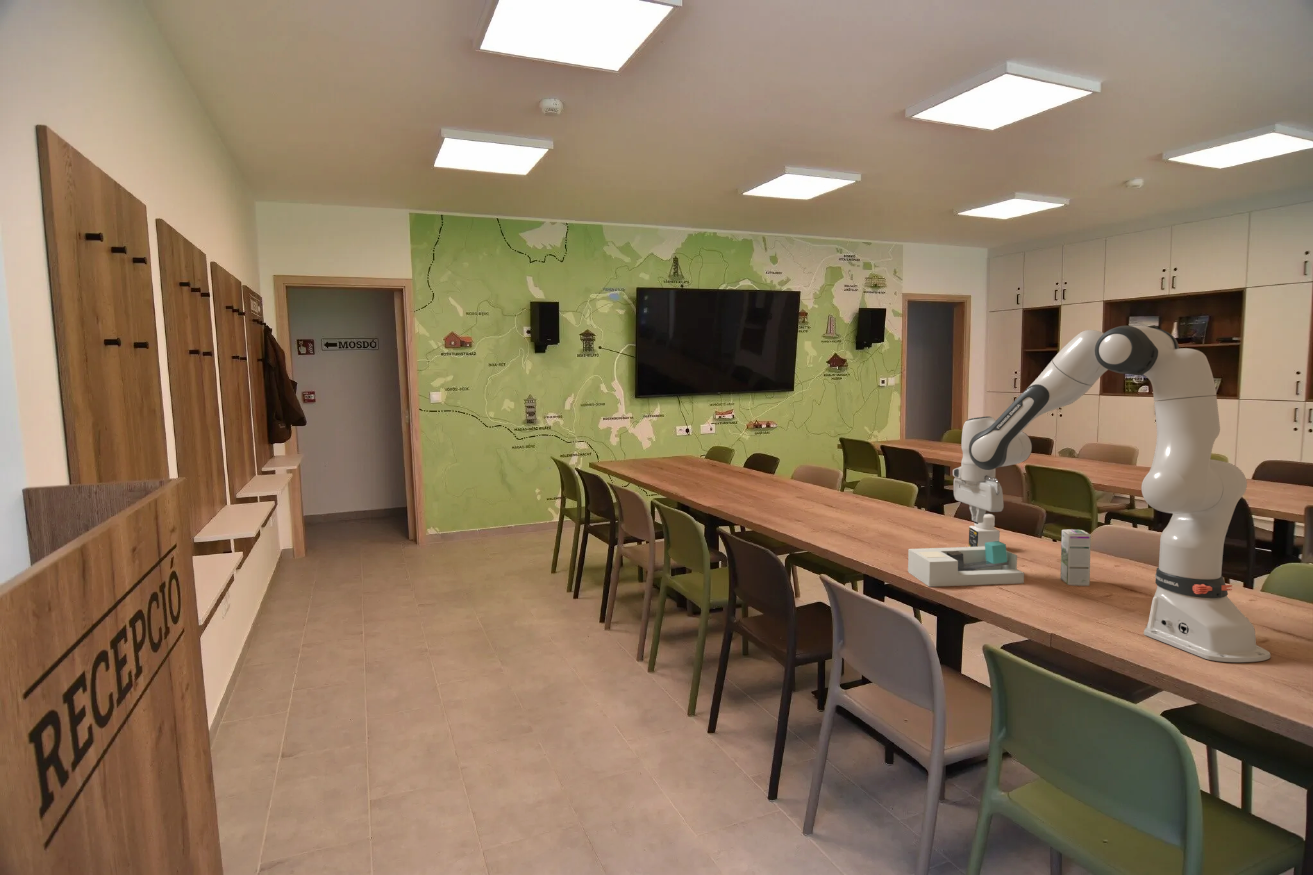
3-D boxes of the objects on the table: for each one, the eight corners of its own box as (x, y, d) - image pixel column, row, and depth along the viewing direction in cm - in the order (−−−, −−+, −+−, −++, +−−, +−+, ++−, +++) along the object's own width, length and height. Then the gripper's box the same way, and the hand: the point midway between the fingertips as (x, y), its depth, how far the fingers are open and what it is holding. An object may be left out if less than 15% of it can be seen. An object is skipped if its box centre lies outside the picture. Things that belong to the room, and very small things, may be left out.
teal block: (1007, 562, 198) (1005, 544, 198) (993, 563, 198) (992, 546, 197) (999, 558, 202) (998, 540, 201) (985, 560, 202) (984, 542, 201)
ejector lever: (1009, 564, 199) (1007, 547, 198) (953, 572, 198) (952, 555, 197) (1002, 561, 202) (1001, 544, 201) (948, 569, 201) (946, 552, 200)
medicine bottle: (968, 546, 234) (969, 511, 232) (989, 546, 233) (990, 511, 232) (977, 552, 226) (978, 515, 225) (999, 551, 226) (1000, 515, 225)
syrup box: (1090, 586, 190) (1092, 534, 189) (1066, 585, 191) (1068, 533, 190) (1082, 579, 196) (1084, 529, 194) (1059, 579, 197) (1061, 528, 195)
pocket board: (1023, 583, 194) (1024, 558, 193) (929, 586, 192) (929, 561, 191) (996, 568, 208) (997, 545, 207) (908, 572, 206) (908, 548, 205)
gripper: (1010, 478, 187) (1009, 529, 188) (970, 468, 207) (969, 514, 208) (987, 479, 186) (987, 530, 187) (949, 469, 206) (949, 515, 208)
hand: (977, 521), depth 198 cm, fingers closed
